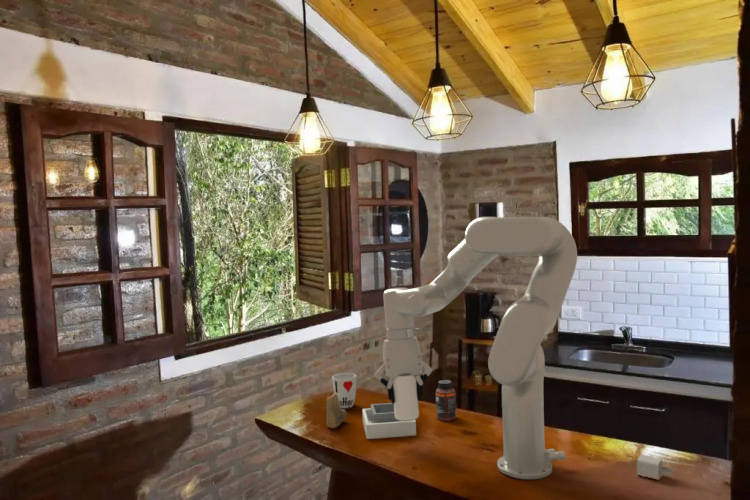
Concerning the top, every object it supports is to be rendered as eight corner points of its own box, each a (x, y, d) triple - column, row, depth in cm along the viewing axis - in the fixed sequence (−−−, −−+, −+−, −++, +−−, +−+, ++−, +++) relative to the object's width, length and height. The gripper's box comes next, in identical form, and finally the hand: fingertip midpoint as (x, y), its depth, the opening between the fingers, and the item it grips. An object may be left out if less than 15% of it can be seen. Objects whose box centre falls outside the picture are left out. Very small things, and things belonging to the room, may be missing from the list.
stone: (334, 431, 159) (333, 397, 159) (320, 429, 161) (319, 396, 161) (348, 421, 167) (347, 389, 167) (335, 419, 169) (333, 387, 169)
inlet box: (408, 418, 167) (407, 399, 167) (416, 435, 153) (415, 414, 153) (362, 421, 166) (362, 402, 166) (366, 439, 152) (365, 417, 152)
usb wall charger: (641, 470, 126) (641, 453, 126) (675, 478, 122) (675, 460, 122) (637, 477, 123) (637, 459, 123) (671, 485, 119) (671, 467, 119)
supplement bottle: (459, 416, 167) (458, 380, 167) (451, 422, 162) (450, 385, 162) (441, 413, 171) (440, 378, 170) (433, 419, 166) (432, 382, 165)
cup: (330, 409, 179) (329, 379, 179) (336, 401, 187) (335, 372, 187) (355, 409, 178) (353, 379, 177) (359, 402, 186) (358, 373, 185)
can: (417, 421, 142) (413, 375, 142) (393, 421, 143) (389, 376, 143) (420, 413, 148) (416, 369, 148) (397, 414, 150) (393, 370, 150)
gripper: (429, 329, 150) (434, 393, 151) (367, 335, 149) (372, 400, 149) (434, 333, 143) (440, 401, 143) (369, 339, 141) (375, 408, 141)
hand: (405, 400), depth 146 cm, fingers closed on can, 6 cm apart
